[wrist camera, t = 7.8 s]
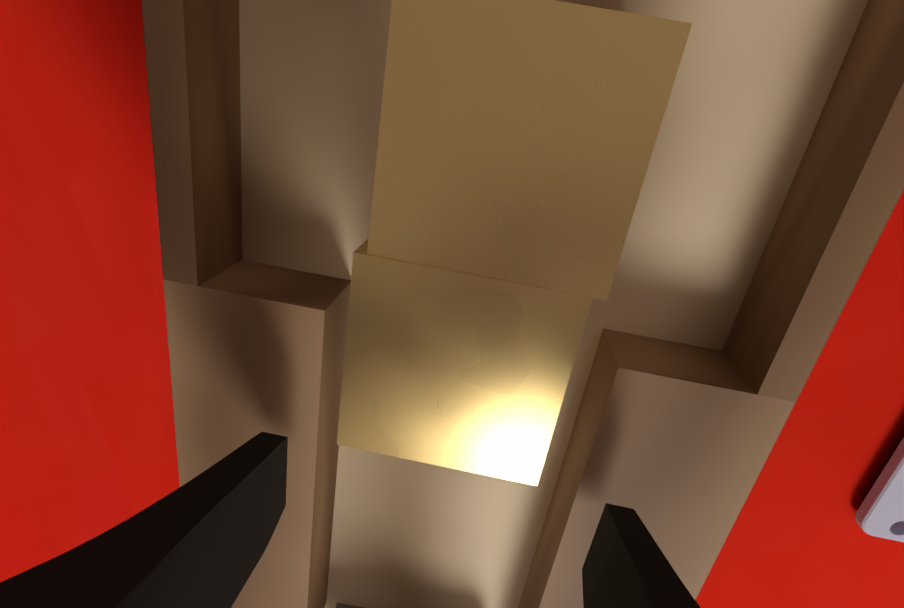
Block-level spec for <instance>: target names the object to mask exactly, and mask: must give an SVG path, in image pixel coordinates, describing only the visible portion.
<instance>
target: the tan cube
mask: <svg viewBox="0 0 904 608" xmlns="http://www.w3.org/2000/svg"><path fill="white" fill-rule="evenodd" d="M368 239H369V238H368ZM368 239H367V240H365V241H364V242H363V243H362V244H361V245H360V246H359V247H358V248H357V249H356V250H355V251H354V252H353V261H352V273H351V284H350V296H349V307H348V319H347V330H346V342H345V353H344V365H343V376H342V388H341V399H340V410H339V422H338V433H337V445H340V446H345V447H350V448H355V449H360V450H365V451H369V452H374V453H379V454H384V455H389V456H394V457H398V458H403V459H408V460H413V461H418V462H423V463H427V464H432V465H437V466H442V467H447V468H452V469H457V470H461V471H466V472H471V473H476V474H481V475H486V476H490V477H495V478H500V479H505V480H510V481H515V482H520V483H524V484H529V485H534V486H537V485H538V482H539V478H540V475H541V472H542V468H543V465H544V462H545V458H546V455H547V451H548V448H549V445H550V441H551V438H552V435H553V431H554V428H555V425H556V421H557V418H558V414H559V411H560V408H561V404H562V401H563V398H564V394H565V391H566V388H567V384H568V381H569V377H570V374H571V371H572V367H573V364H574V361H575V357H576V354H577V350H578V347H579V344H580V340H581V337H582V334H583V330H584V327H585V324H586V320H587V317H588V313H589V310H590V307H591V303H592V300H593V298H589V297H584V296H579V295H574V294H569V293H564V292H559V291H553V290H548V289H543V288H538V287H533V286H528V285H523V284H517V283H512V282H507V281H502V280H497V279H492V278H487V277H481V276H476V275H471V274H466V273H461V272H456V271H451V270H445V269H440V268H435V267H430V266H425V265H420V264H415V263H409V262H404V261H399V260H394V259H389V258H384V257H379V256H373V255H368V254H367V249H368Z"/></svg>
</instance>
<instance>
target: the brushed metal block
mask: <svg viewBox="0 0 904 608" xmlns="http://www.w3.org/2000/svg"><path fill="white" fill-rule="evenodd" d="M335 608H365V607H359V606H354V605H348V604H343V603H338V602H337V604H336V607H335Z"/></svg>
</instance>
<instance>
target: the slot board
mask: <svg viewBox="0 0 904 608" xmlns="http://www.w3.org/2000/svg"><path fill="white" fill-rule="evenodd" d="M556 1H562V2H568V3H574V4H580V5H586V6H592V7H598V8H604V9H610V10H616V11H622V12H628V13H634V14H640V15H646V16H652V17H658V18H664V19H670V20H676V21H682V22H688V23H692V26H691V29H690V33H689V36H688V39H687V42H686V46H685V49H684V52H683V55H682V59H681V62H680V65H679V68H678V72H677V75H676V78H675V81H674V84H673V88H672V91H671V94H670V97H669V101H668V104H667V107H666V110H665V114H664V117H663V120H662V123H661V126H660V130H659V133H658V136H657V139H656V143H655V146H654V149H653V152H652V156H651V159H650V162H649V165H648V169H647V172H646V175H645V178H644V181H643V185H642V188H641V191H640V194H639V198H638V201H637V204H636V207H635V211H634V214H633V217H632V220H631V224H630V227H629V230H628V233H627V236H626V240H625V243H624V246H623V249H622V253H621V256H620V259H619V262H618V266H617V269H616V272H615V275H614V279H613V282H612V285H611V288H610V291H609V295H608V298H607V301H605V300H600V299H595V298H593V300H592V303H591V307H590V310H589V313H588V317H587V320H586V324H585V327H584V330H583V334H582V337H581V340H580V344H579V347H578V350H577V354H576V357H575V361H574V364H573V367H572V371H571V374H570V377H569V381H568V384H567V388H566V391H565V394H564V398H563V401H562V404H561V408H560V411H559V414H558V418H557V421H556V425H555V428H554V431H553V435H552V438H551V441H550V445H549V448H548V451H547V455H546V458H545V462H544V465H543V468H542V472H541V475H540V478H539V482H538V485H537V486H534V485H529V484H524V483H520V482H515V481H510V480H505V479H500V478H495V477H490V476H486V475H481V474H476V473H471V472H466V471H461V470H457V469H452V468H447V467H442V466H437V465H432V464H427V463H423V462H418V461H413V460H408V459H403V458H398V457H394V456H389V455H384V454H379V453H374V452H369V451H365V450H360V449H355V448H350V447H345V446H340V445H337V433H338V422H339V410H340V399H341V388H342V376H343V365H344V353H345V342H346V330H347V319H348V307H349V296H350V284H351V273H352V261H353V252H354V251H355V250H356V249H357V248H358V247H359V246H360V245H361V244H362V243H363V242H364V241H365V240H367V239H368V238H369V228H370V218H371V208H372V198H373V188H374V178H375V168H376V157H377V147H378V137H379V127H380V117H381V107H382V97H383V86H384V76H385V66H386V56H387V46H388V36H389V26H390V15H391V5H392V0H141V3H142V15H143V28H144V41H145V53H146V66H147V79H148V91H149V104H150V116H151V129H152V142H153V154H154V167H155V180H156V192H157V205H158V217H159V230H160V243H161V255H162V268H163V281H164V293H165V306H166V318H167V331H168V344H169V356H170V369H171V381H172V394H173V407H174V419H175V432H176V445H177V457H178V470H179V482H180V487H181V486H183V485H184V484H186V483H187V482H189V481H190V480H192V479H193V478H195V477H196V476H198V475H199V474H201V473H202V472H204V471H205V470H207V469H208V468H210V467H211V466H212V465H214V464H215V463H217V462H218V461H220V460H221V459H223V458H224V457H226V456H227V455H228V454H230V453H231V452H233V451H234V450H236V449H237V448H238V447H240V446H241V445H243V444H244V443H246V442H247V441H248V440H250V439H251V438H253V437H254V436H256V435H257V434H259V433H261V432H266V433H271V434H276V435H281V436H286V437H288V448H287V481H286V506H285V508H284V510H283V513H282V515H281V517H280V519H279V522H278V524H277V526H276V529H275V531H274V533H273V535H272V537H271V539H270V541H269V544H268V546H267V548H266V550H265V551H264V553H263V555H262V557H261V558H260V560H259V562H258V563H257V565H256V567H255V568H254V570H253V572H252V574H251V575H250V577H249V579H248V580H247V582H246V584H245V585H244V587H243V589H242V590H241V592H240V594H239V595H238V597H237V599H236V600H235V602H234V604H233V605H232V607H231V608H335V607H336V604H337V602H338V603H343V604H348V605H354V606H359V607H365V608H584V605H583V584H582V568H583V565H584V562H585V559H586V557H587V554H588V551H589V548H590V546H591V543H592V540H593V537H594V535H595V532H596V529H597V526H598V524H599V521H600V518H601V515H602V512H603V510H604V507H605V504H606V503H608V504H613V505H617V506H622V507H627V508H632V509H634V510H635V511H636V513H637V514H638V516H639V517H640V519H641V520H642V522H643V523H644V525H645V526H646V528H647V530H648V531H649V533H650V534H651V536H652V537H653V539H654V540H655V542H656V543H657V545H658V546H659V548H660V549H661V551H662V552H663V554H664V556H665V557H666V559H667V560H668V562H669V563H670V565H671V566H672V568H673V569H674V571H675V572H676V574H677V575H678V576H679V578H680V579H681V581H682V582H683V584H684V585H685V587H686V588H687V590H688V591H689V592H690V594H691V595H692V597H693V598H694V600H695V599H696V598H697V596H698V594H699V592H700V590H701V588H702V586H703V584H704V582H705V580H706V578H707V576H708V574H709V572H710V570H711V568H712V566H713V564H714V562H715V560H716V558H717V556H718V554H719V552H720V550H721V548H722V546H723V544H724V542H725V540H726V538H727V536H728V534H729V532H730V531H731V529H732V527H733V525H734V523H735V521H736V519H737V517H738V515H739V513H740V511H741V509H742V507H743V505H744V503H745V501H746V499H747V497H748V495H749V493H750V491H751V489H752V487H753V485H754V483H755V481H756V479H757V477H758V475H759V473H760V471H761V469H762V467H763V466H764V464H765V462H766V460H767V458H768V456H769V454H770V452H771V450H772V448H773V446H774V444H775V442H776V440H777V438H778V436H779V434H780V432H781V430H782V428H783V426H784V424H785V422H786V420H787V418H788V416H789V414H790V412H791V410H792V408H793V406H794V404H795V402H796V400H797V399H798V397H799V395H800V393H801V391H802V389H803V387H804V385H805V383H806V381H807V379H808V377H809V375H810V373H811V371H812V369H813V367H814V365H815V363H816V361H817V359H818V357H819V355H820V353H821V351H822V349H823V347H824V345H825V343H826V341H827V339H828V337H829V335H830V333H831V332H832V330H833V328H834V326H835V324H836V322H837V320H838V318H839V316H840V314H841V312H842V310H843V308H844V306H845V304H846V302H847V300H848V298H849V296H850V294H851V292H852V290H853V288H854V286H855V284H856V282H857V280H858V278H859V276H860V274H861V272H862V270H863V268H864V267H865V265H866V263H867V261H868V259H869V257H870V255H871V253H872V251H873V249H874V247H875V245H876V243H877V241H878V239H879V237H880V235H881V233H882V231H883V229H884V227H885V225H886V223H887V221H888V219H889V217H890V215H891V213H892V211H893V209H894V207H895V205H896V203H897V201H898V200H899V198H900V196H901V194H902V192H903V190H904V0H556Z"/></svg>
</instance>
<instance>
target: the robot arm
mask: <svg viewBox="0 0 904 608" xmlns="http://www.w3.org/2000/svg"><path fill="white" fill-rule="evenodd" d="M287 448H288V437H286V436H281V435H276V434H271V433H266V432H261V433H259V434H257V435H256V436H254V437H253V438H251V439H250V440H248V441H247V442H246V443H244V444H243V445H241V446H240V447H238V448H237V449H236V450H234V451H233V452H231V453H230V454H228V455H227V456H226V457H224V458H223V459H221V460H220V461H218V462H217V463H215V464H214V465H212V466H211V467H210V468H208V469H207V470H205V471H204V472H202V473H201V474H199V475H198V476H196V477H195V478H193V479H192V480H190V481H189V482H187V483H186V484H184V485H183V486H181V487H180V488H178V489H177V490H175V491H173V492H172V493H170V494H169V495H167V496H165V497H164V498H162V499H161V500H159V501H157V502H156V503H154V504H152V505H151V506H149V507H147V508H146V509H144V510H142V511H141V512H139V513H138V514H136V515H134V516H133V517H131V518H129V519H128V520H126V521H124V522H122V523H121V524H119V525H117V526H115V527H113V528H112V529H110V530H108V531H106V532H104V533H103V534H101V535H99V536H97V537H95V538H93V539H91V540H89V541H87V542H85V543H83V544H81V545H79V546H78V547H76V548H74V549H72V550H70V551H68V552H66V553H64V554H62V555H60V556H58V557H55V558H53V559H51V560H49V561H47V562H44V563H42V564H40V565H38V566H36V567H33V568H31V569H29V570H27V571H25V572H23V573H20V574H18V575H16V576H14V577H12V578H9V579H7V580H5V581H3V582H1V583H0V608H231V607H232V605H233V604H234V602H235V600H236V599H237V597H238V595H239V594H240V592H241V590H242V589H243V587H244V585H245V584H246V582H247V580H248V579H249V577H250V575H251V574H252V572H253V570H254V568H255V567H256V565H257V563H258V562H259V560H260V558H261V557H262V555H263V553H264V551H265V550H266V548H267V546H268V544H269V541H270V539H271V537H272V535H273V533H274V531H275V529H276V526H277V524H278V522H279V519H280V517H281V515H282V513H283V510H284V508H285V506H286V481H287ZM855 519H856V522H857V523H858V525H859V526H860V527H861V528H862V530H863V531H864V532H865V533H866V534H869V535H871V536H875V537H880V538H885V539H890V540H895V541H899V542H904V438H903V439H902V441H901V442H900V444H899V445H898V447H897V449H896V450H895V452H894V453H893V455H892V457H891V458H890V460H889V461H888V463H887V465H886V466H885V468H884V469H883V471H882V472H881V474H880V476H879V477H878V479H877V480H876V482H875V484H874V485H873V487H872V488H871V490H870V491H869V493H868V495H867V496H866V498H865V499H864V501H863V503H862V504H861V506H860V507H859V509H858V511H857V513H856V515H855ZM896 522H897V523H896ZM582 584H583V605H584V608H700V607H699V605H698V604H697V602H696V601H695V600H694V598H693V597H692V595H691V594H690V592H689V591H688V590H687V588H686V587H685V585H684V584H683V582H682V581H681V579H680V578H679V576H678V575H677V574H676V572H675V571H674V569H673V568H672V566H671V565H670V563H669V562H668V560H667V559H666V557H665V556H664V554H663V552H662V551H661V549H660V548H659V546H658V545H657V543H656V542H655V540H654V539H653V537H652V536H651V534H650V533H649V531H648V530H647V528H646V526H645V525H644V523H643V522H642V520H641V519H640V517H639V516H638V514H637V513H636V511H635V510H634V509H632V508H627V507H622V506H617V505H613V504H608V503H606V504H605V507H604V510H603V512H602V515H601V518H600V521H599V524H598V526H597V529H596V532H595V535H594V537H593V540H592V543H591V546H590V548H589V551H588V554H587V557H586V559H585V562H584V565H583V568H582Z"/></svg>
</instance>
